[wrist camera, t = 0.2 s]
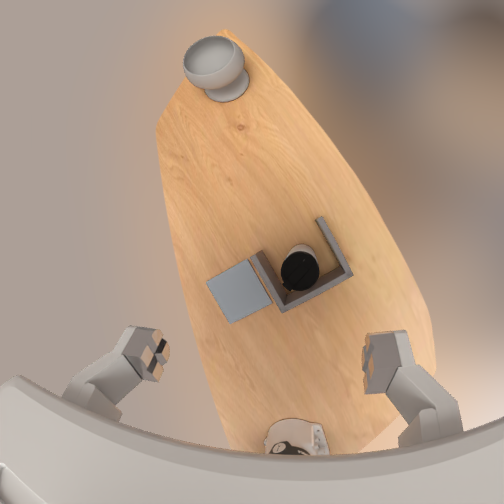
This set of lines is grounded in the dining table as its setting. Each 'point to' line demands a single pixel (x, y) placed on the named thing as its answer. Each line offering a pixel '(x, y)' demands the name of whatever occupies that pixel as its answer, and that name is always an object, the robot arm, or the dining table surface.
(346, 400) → the dining table surface
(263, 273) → the grey u-shaped channel
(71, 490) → the robot arm
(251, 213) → the dining table surface
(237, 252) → the dining table surface
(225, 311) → the mat
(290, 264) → the travel mug
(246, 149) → the dining table surface
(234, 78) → the chalice
